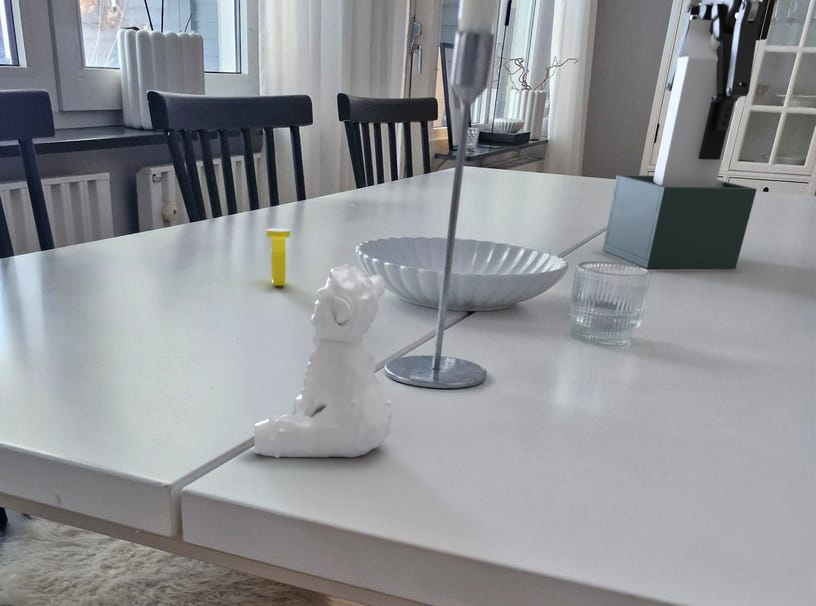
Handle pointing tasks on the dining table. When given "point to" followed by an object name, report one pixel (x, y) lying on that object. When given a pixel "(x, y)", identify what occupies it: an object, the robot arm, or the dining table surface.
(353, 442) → the white creature statuette
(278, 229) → the yellow capped post
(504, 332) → the dining table surface
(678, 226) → the box
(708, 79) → the milk carton
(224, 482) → the dining table surface
